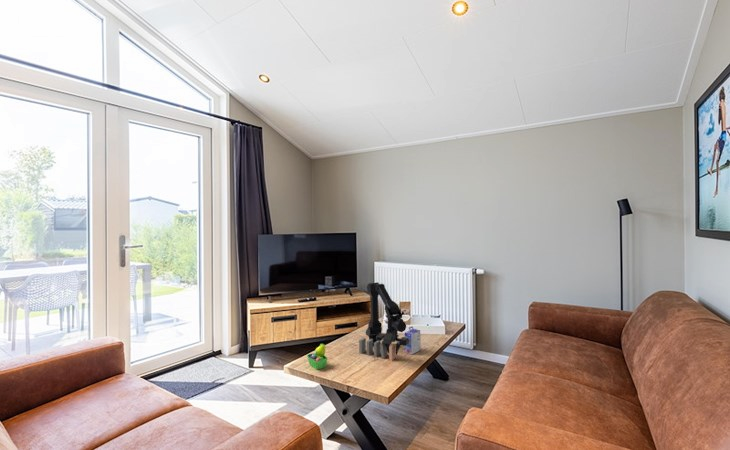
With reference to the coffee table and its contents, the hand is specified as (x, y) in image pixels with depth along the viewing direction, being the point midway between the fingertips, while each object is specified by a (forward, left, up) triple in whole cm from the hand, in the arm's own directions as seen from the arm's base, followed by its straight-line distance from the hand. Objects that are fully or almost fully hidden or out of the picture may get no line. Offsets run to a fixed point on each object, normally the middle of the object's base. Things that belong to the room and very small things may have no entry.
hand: (392, 353), depth 194 cm
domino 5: (0, 0, -3) cm, 3 cm away
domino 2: (0, -15, -3) cm, 15 cm away
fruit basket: (+28, -32, -3) cm, 43 cm away
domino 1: (0, -20, -3) cm, 20 cm away
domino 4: (0, -5, -3) cm, 6 cm away
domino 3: (0, -10, -3) cm, 10 cm away
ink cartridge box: (-16, +6, -3) cm, 17 cm away
